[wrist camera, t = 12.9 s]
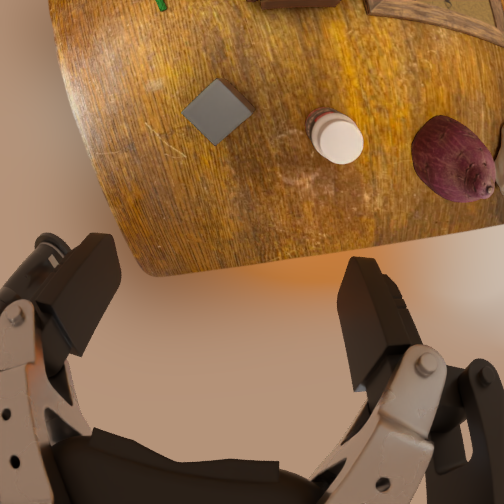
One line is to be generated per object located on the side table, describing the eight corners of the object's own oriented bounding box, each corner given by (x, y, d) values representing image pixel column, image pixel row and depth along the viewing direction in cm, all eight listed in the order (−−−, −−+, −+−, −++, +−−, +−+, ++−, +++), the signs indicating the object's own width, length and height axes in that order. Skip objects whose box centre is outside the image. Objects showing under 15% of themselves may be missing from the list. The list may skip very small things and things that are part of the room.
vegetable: (395, 164, 33) (413, 219, 22) (423, 100, 26) (464, 122, 15) (453, 197, 32) (485, 262, 21) (483, 140, 25) (536, 184, 14)
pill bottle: (318, 98, 26) (334, 105, 20) (352, 122, 27) (377, 137, 21) (296, 131, 29) (304, 149, 22) (330, 153, 30) (347, 177, 23)
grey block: (223, 136, 30) (215, 146, 26) (193, 107, 28) (180, 112, 24) (255, 108, 28) (252, 113, 24) (225, 78, 26) (216, 77, 22)
